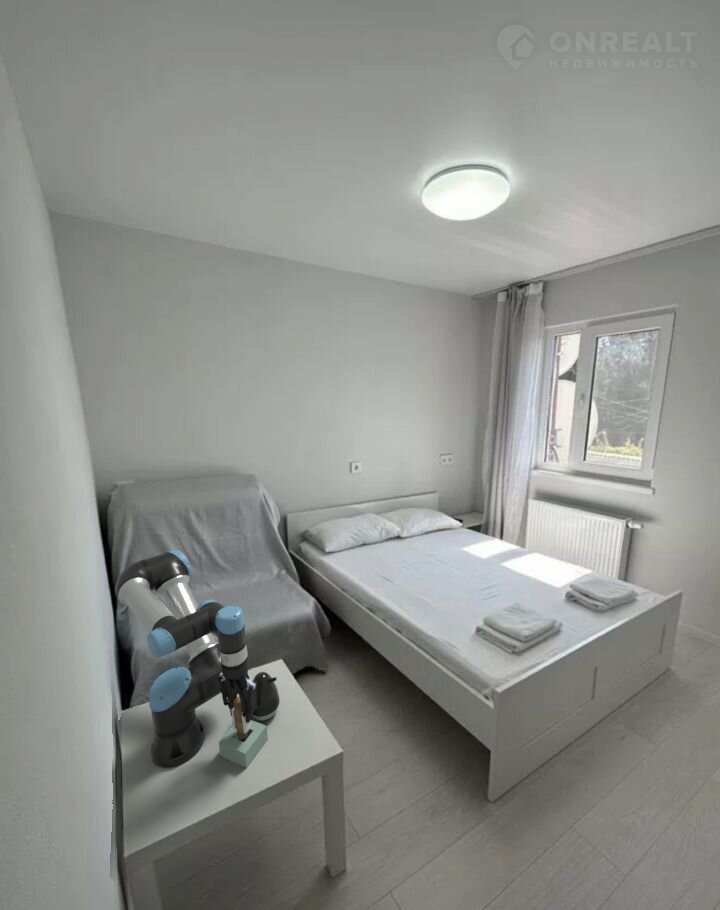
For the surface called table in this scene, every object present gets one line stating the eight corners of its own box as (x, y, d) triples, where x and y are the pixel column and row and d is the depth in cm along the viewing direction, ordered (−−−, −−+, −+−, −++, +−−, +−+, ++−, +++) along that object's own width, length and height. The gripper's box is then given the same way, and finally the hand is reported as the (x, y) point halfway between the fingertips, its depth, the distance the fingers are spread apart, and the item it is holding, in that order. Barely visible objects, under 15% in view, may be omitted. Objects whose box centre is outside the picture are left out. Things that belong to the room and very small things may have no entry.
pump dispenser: (273, 728, 129) (269, 687, 126) (244, 723, 131) (239, 683, 128) (285, 703, 138) (282, 664, 136) (258, 699, 141) (254, 661, 138)
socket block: (220, 756, 120) (218, 742, 119) (242, 729, 129) (241, 716, 128) (246, 768, 116) (245, 753, 115) (267, 739, 125) (266, 725, 124)
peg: (242, 729, 123) (238, 695, 121) (250, 732, 122) (246, 698, 120) (235, 737, 120) (231, 703, 118) (243, 741, 119) (239, 706, 117)
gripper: (204, 660, 116) (213, 729, 121) (248, 675, 110) (256, 746, 114) (222, 645, 123) (230, 710, 127) (264, 657, 116) (271, 726, 121)
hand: (242, 727), depth 121 cm, fingers closed on peg, 3 cm apart
